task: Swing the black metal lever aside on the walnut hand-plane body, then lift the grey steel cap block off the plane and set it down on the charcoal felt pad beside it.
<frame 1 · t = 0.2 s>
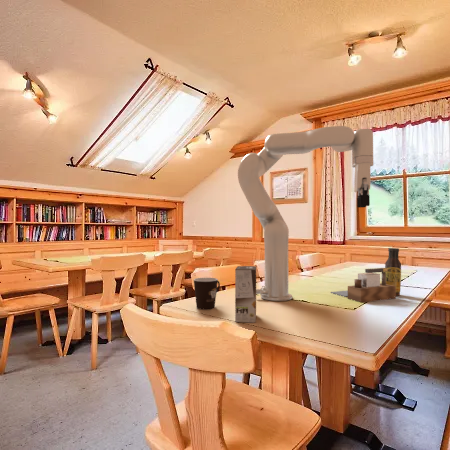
hand: (363, 206, 125), 37 cm above the table, tool pointing down, fingers open, 9 cm apart
lever cap: (368, 286, 130), point 5 cm above the table, touching plane body
sauce bottle: (392, 295, 138), on the table
coffee box: (246, 319, 103), on the table
coffee mug: (209, 307, 117), on the table
lever: (376, 270, 132), point 11 cm above the table, hinge at 0.0°
plane body: (371, 298, 131), on the table
felt pad: (348, 293, 140), on the table
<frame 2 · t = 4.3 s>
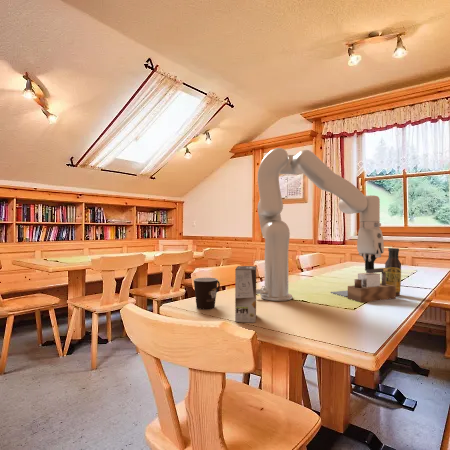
hand: (369, 270, 133), 11 cm above the table, tool pointing down, fingers closed
lever: (377, 270, 132), point 11 cm above the table, hinge at 3.3°, touching gripper
everything else where it was.
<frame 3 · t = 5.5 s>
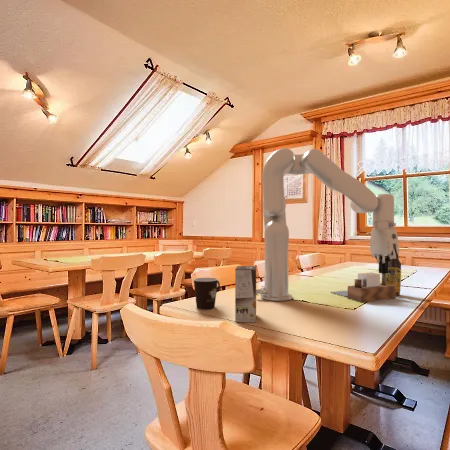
hand: (383, 273, 127), 11 cm above the table, tool pointing down, fingers closed
lever: (387, 271, 129), point 11 cm above the table, hinge at 62.6°
everything else where it was.
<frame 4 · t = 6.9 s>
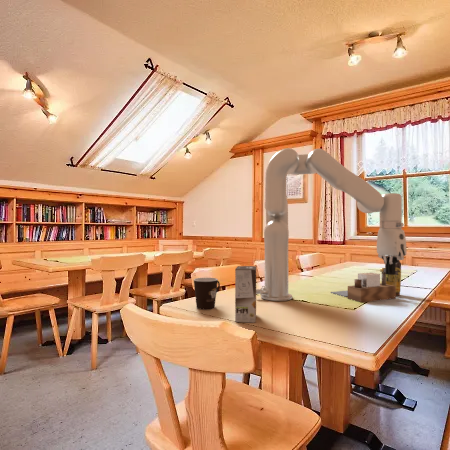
hand: (390, 274, 124), 11 cm above the table, tool pointing down, fingers closed
lever: (388, 271, 129), point 11 cm above the table, hinge at 69.8°, touching gripper
everything else where it was.
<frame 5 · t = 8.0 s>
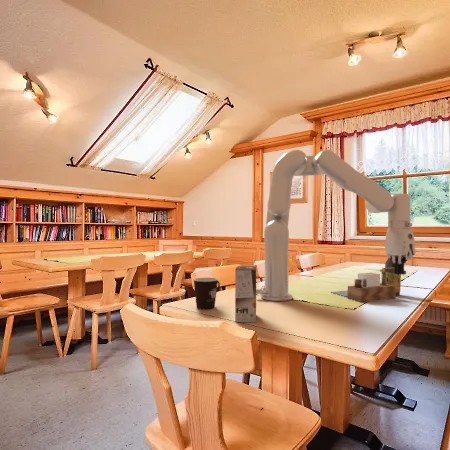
hand: (399, 273, 125), 11 cm above the table, tool pointing down, fingers closed
lever: (392, 271, 130), point 11 cm above the table, hinge at 96.2°, touching gripper
everything else where it was.
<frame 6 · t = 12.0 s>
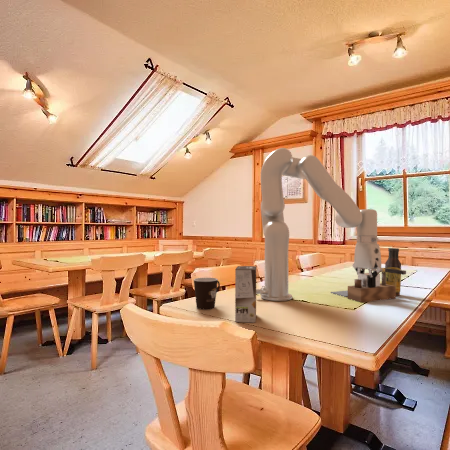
hand: (366, 285, 130), 5 cm above the table, tool pointing down, fingers closed on lever cap, 4 cm apart
lever cap: (368, 286, 130), point 5 cm above the table, touching gripper, plane body
lever: (392, 271, 130), point 11 cm above the table, hinge at 96.3°
everything else where it was.
when the fingers open (2 cm above the table, at t = 18.3 s): lever cap drops 2 cm, resting on felt pad.
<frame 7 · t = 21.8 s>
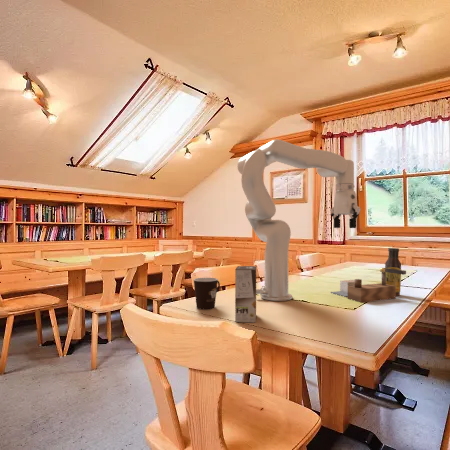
hand: (344, 227, 142), 28 cm above the table, tool pointing down, fingers open, 9 cm apart
lever cap: (350, 292, 140), resting on felt pad
everything else where it was.
at the end: lever cap inside the target area on the felt pad (0.9 cm from its centre), point 0.4 cm above the felt pad's base; lever at +96° (first picture: +0°); lever cap touching felt pad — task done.
